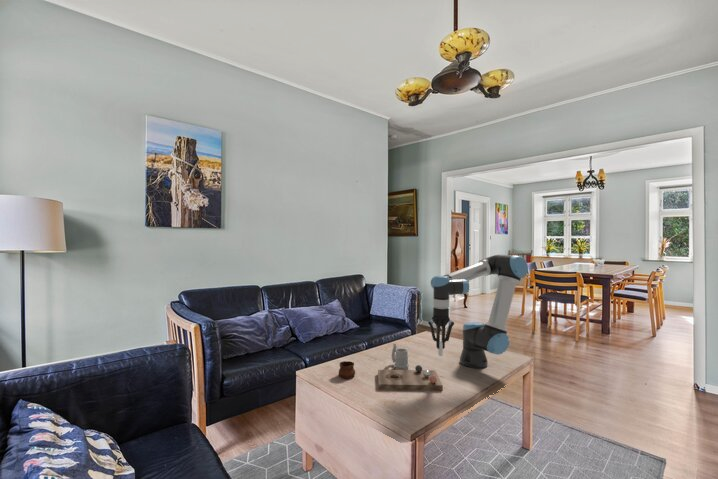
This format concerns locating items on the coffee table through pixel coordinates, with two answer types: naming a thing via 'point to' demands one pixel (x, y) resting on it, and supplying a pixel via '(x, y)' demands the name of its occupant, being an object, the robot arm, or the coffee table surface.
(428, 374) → the steel ball
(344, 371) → the ceramic pot
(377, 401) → the coffee table surface
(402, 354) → the mug
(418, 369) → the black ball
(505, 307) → the robot arm
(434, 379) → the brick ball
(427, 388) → the deck
